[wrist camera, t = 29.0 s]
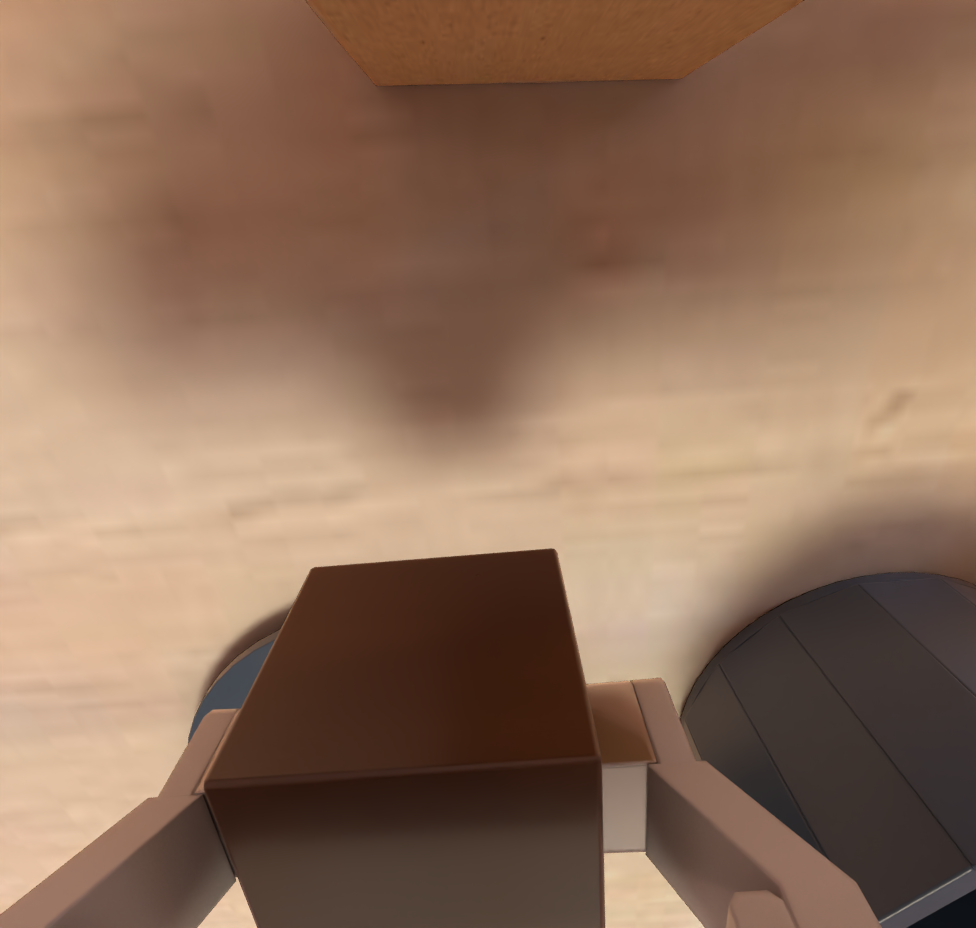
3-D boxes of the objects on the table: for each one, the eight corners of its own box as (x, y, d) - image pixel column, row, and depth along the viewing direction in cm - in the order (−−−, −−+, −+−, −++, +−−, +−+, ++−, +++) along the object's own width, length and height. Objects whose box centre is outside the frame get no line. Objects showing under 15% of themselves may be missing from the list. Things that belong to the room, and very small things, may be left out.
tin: (1089, 557, 21) (1522, 795, 12) (984, 827, 27) (1231, 1121, 18) (688, 587, 21) (839, 844, 13) (669, 850, 27) (763, 1153, 18)
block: (556, 546, 10) (603, 758, 6) (565, 731, 12) (607, 994, 8) (310, 565, 11) (197, 787, 6) (353, 746, 12) (287, 1012, 8)
